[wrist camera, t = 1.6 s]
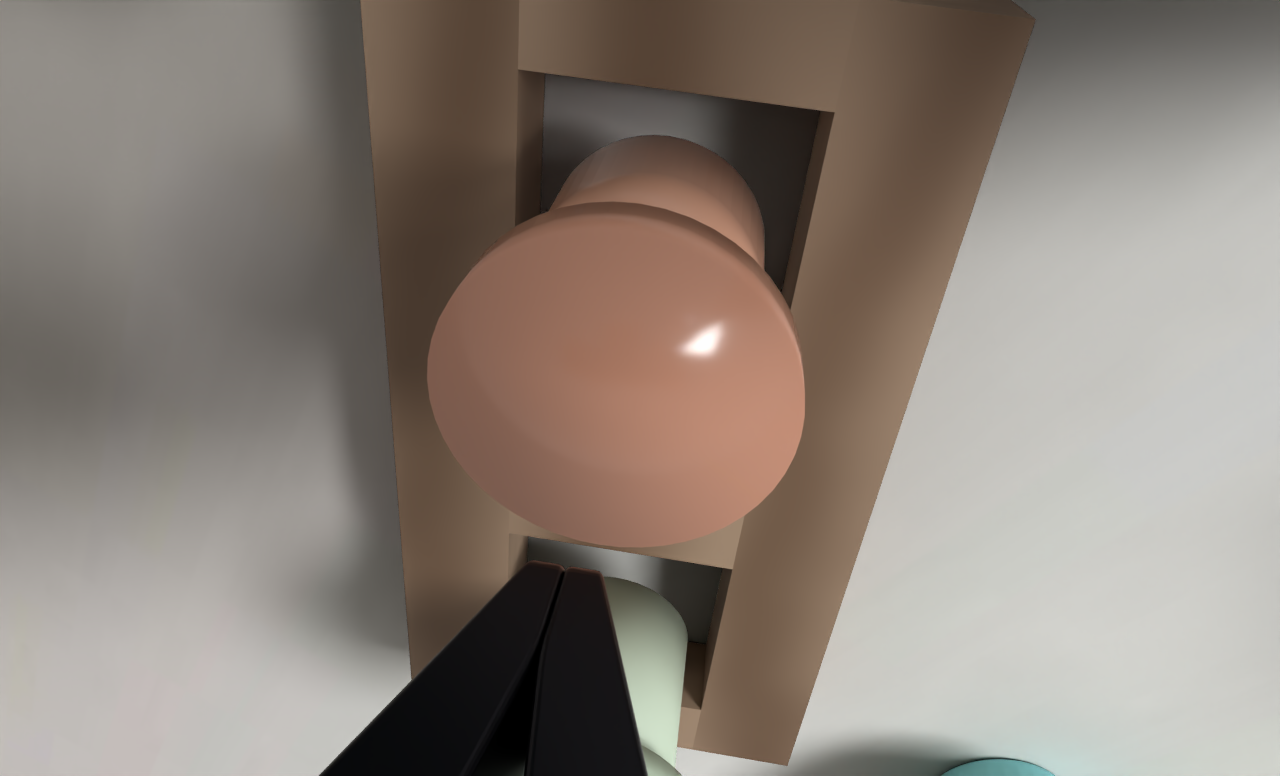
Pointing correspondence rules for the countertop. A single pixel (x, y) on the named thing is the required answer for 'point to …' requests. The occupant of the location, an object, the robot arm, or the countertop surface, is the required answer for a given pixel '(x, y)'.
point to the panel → (813, 289)
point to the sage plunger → (651, 667)
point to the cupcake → (998, 769)
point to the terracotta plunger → (625, 354)
